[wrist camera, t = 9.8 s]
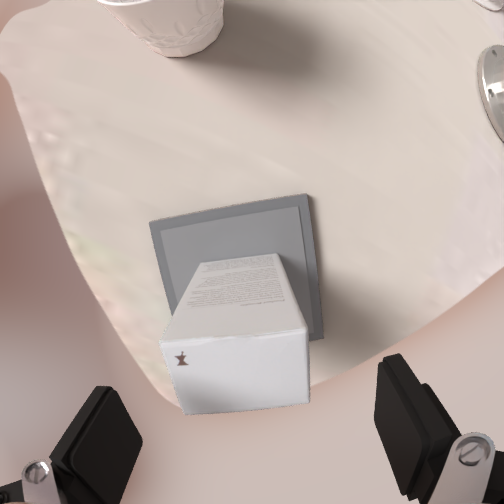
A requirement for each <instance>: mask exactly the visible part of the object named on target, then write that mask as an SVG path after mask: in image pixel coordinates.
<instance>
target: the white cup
mask: <svg viewBox="0 0 504 504" xmlns="http://www.w3.org/2000/svg"><path fill="white" fill-rule="evenodd" d="M97 1H98V2H99V3H100V4H101V5H102V6H103V7H104V8H106V9H107V10H108V11H109V12H110V13H111V14H112V15H113V16H114V17H115V18H116V19H117V20H118V21H120V22H121V23H122V24H123V25H124V26H125V27H126V28H127V29H128V30H130V31H131V32H132V33H133V34H134V35H135V36H136V37H138V38H139V39H140V40H142V41H143V42H144V43H145V44H146V45H147V46H148V47H149V48H150V49H151V50H153V51H155V52H157V53H159V54H161V55H163V56H165V57H185V56H188V55H191V54H194V53H197V52H200V51H202V50H204V49H205V48H206V47H207V46H208V45H210V44H211V43H212V42H213V41H215V40H216V39H217V37H218V35H219V33H220V31H221V29H222V27H223V25H224V22H223V5H224V0H97Z"/></svg>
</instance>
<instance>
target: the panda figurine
mask: <svg viewBox="0 0 504 504" xmlns="http://www.w3.org/2000/svg"><path fill="white" fill-rule="evenodd" d="M472 1H474V2H475V3H477V4H478V5H480V6H482V7H484V8H486V9H488V10H492V11H498V10H500V9H502V8H503V6H504V0H472Z"/></svg>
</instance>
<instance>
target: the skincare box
mask: <svg viewBox="0 0 504 504" xmlns="http://www.w3.org/2000/svg"><path fill="white" fill-rule="evenodd" d="M159 346H160V349H161V352H162V355H163V358H164V361H165V364H166V367H167V370H168V372H169V375H170V378H171V381H172V384H173V386H174V389H175V392H176V395H177V398H178V400H179V403H180V406H181V408H182V411H183V413H184V414H185V415H195V414H215V413H228V412H242V411H252V410H262V409H270V408H277V407H285V406H292V405H299V404H306V403H309V402H310V357H309V335H308V327H307V324H306V322H305V320H304V318H303V315H302V313H301V311H300V308H299V305H298V303H297V300H296V298H295V295H294V293H293V290H292V288H291V285H290V282H289V280H288V277H287V275H286V272H285V269H284V267H283V264H282V262H281V259H280V257H279V255H278V254H277V253H274V254H266V255H258V256H250V257H242V258H235V259H227V260H219V261H211V262H203V263H200V265H199V266H198V268H197V270H196V272H195V274H194V276H193V278H192V280H191V281H190V283H189V285H188V287H187V289H186V291H185V293H184V295H183V296H182V298H181V300H180V302H179V304H178V306H177V308H176V310H175V312H174V314H173V316H172V318H171V320H170V322H169V324H168V326H167V327H166V329H165V331H164V333H163V335H162V337H161V339H160V341H159Z"/></svg>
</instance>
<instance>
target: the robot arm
mask: <svg viewBox="0 0 504 504" xmlns="http://www.w3.org/2000/svg"><path fill="white" fill-rule="evenodd" d="M478 82H479V88H480V93H481V97H482V100H483V103H484V107H485V109H486V112H487V114H488V117H489V119H490V121H491V123H492V125H493V127H494V129H495V130H496V132H497V133H498V135H499V136H500V138H501V139H502V141H503V142H504V46H502V45H493V46H491V47H489V48H487V49H485V50H484V51H483V52H482V54H481V56H480V58H479V63H478ZM374 421H375V425H376V428H377V430H378V433H379V436H380V438H381V441H382V443H383V446H384V449H385V451H386V454H387V457H388V459H389V462H390V465H391V468H392V470H393V473H394V476H395V479H396V481H397V484H398V487H399V490H400V493H401V494H402V495H403V496H404V495H407V497H408V500H409V501H411V500H414V499H416V498H418V500H419V503H420V504H504V452H501V451H496V450H495V445H494V443H493V441H492V440H491V438H490V437H488V436H487V435H485V434H482V433H477V432H475V433H474V432H471V433H467V434H464V435H461V433H460V431H459V430H458V428H457V427H456V425H455V424H454V422H453V420H452V419H451V417H450V416H449V414H448V413H447V411H446V410H445V408H444V407H443V405H442V404H441V402H440V401H439V399H438V398H437V396H436V395H435V393H434V392H433V390H432V389H431V387H430V386H429V385H428V384H426V383H424V384H420V382H419V380H418V379H417V377H416V376H415V374H414V373H413V372H412V370H411V369H410V367H409V365H408V364H407V363H406V361H405V360H404V359H403V357H402V355H401V354H399V353H398V354H395V355H391V356H387V357H384V358H383V362H380V363H379V364H378V375H377V388H376V401H375V411H374ZM142 443H143V441H142V437H141V435H140V433H139V432H138V430H137V428H136V426H135V425H134V423H133V421H132V420H131V417H130V416H129V414H128V412H127V410H126V408H125V406H124V404H123V403H122V400H121V398H120V396H119V395H118V393H117V391H115V390H113V388H112V387H110V386H96V387H95V389H94V390H93V392H92V393H91V394H90V396H89V397H88V399H87V400H86V402H85V403H84V405H83V406H82V408H81V409H80V410H79V412H78V414H77V415H76V416H75V418H74V419H73V421H72V422H71V424H70V426H69V427H68V429H67V430H66V432H65V433H64V434H63V436H62V438H61V439H60V441H59V442H58V444H57V445H56V447H55V448H54V450H53V451H52V453H51V455H50V456H49V458H50V459H51V460H52V463H51V464H50V463H49V462H48V461H46V460H43V459H37V460H33V461H31V462H29V463H28V464H27V465H26V466H25V467H24V469H23V471H22V476H21V478H22V480H19V481H16V482H13V483H10V484H8V485H4V486H1V487H0V504H119V503H120V501H121V499H122V495H123V493H124V490H125V488H126V485H127V482H128V480H129V477H130V475H131V472H132V470H133V467H134V465H135V462H136V460H137V457H138V455H139V452H140V450H141V447H142Z"/></svg>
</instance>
